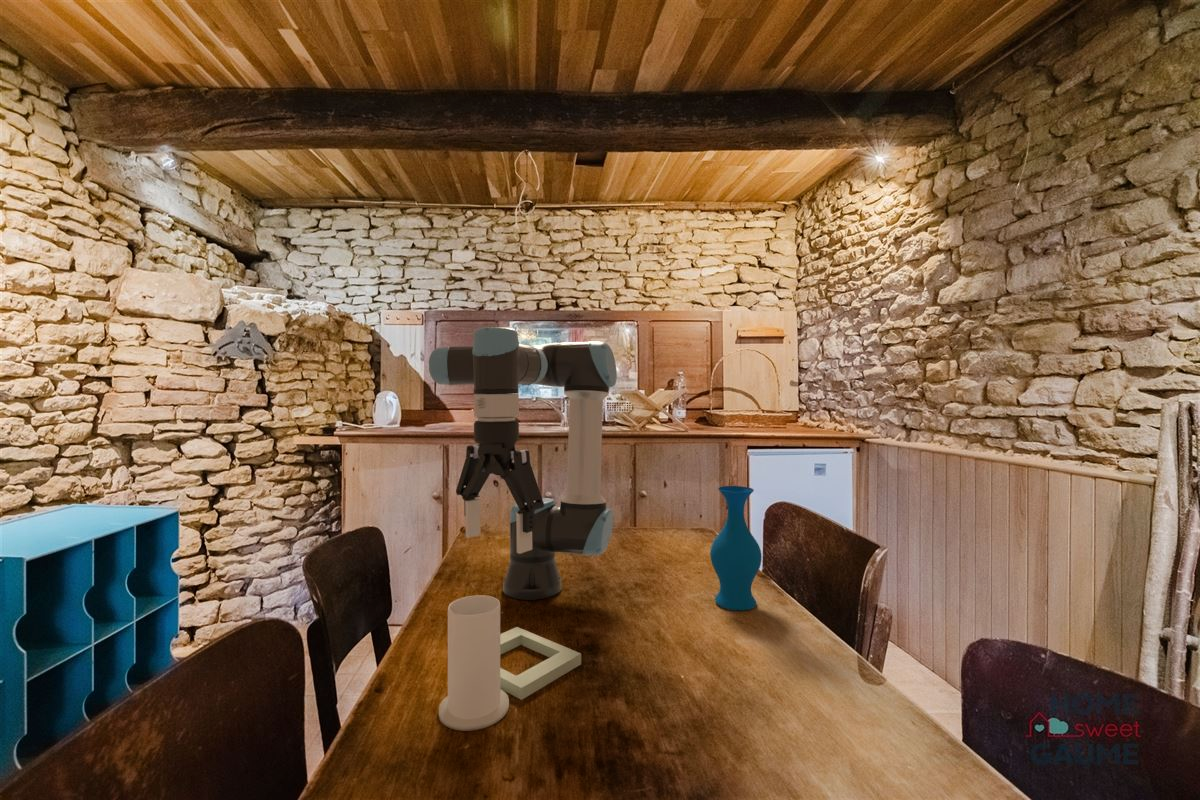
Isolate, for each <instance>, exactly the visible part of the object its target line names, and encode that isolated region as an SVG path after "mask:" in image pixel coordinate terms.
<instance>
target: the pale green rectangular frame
mask: <svg viewBox="0 0 1200 800" xmlns="http://www.w3.org/2000/svg"><path fill="white" fill-rule="evenodd" d="M519 646H523V647H525V648H527V649H528V650H532V651H533V652H536V653H539V654H540V655H543V656H546V657H548V658H547V659H545V660H543V661H541V662H539V663H537V664H535V665H534V666H532V667H530V668H528V669H526V670H524V671H523V672H521V673H519V674H517V675H516V674H514V673H512V672H510V671H508V670H506V669H504V668H502V667H500V689H501V690H503V691H504V692H505V693H508V694H509V695H512V696H513V697H515V698H517V699H519V700H520V701H523V700H524V699H526V698H527V697H529V696H530V695H532V694H534V693H535V692H537V691H539V690H540V689H543V688H544V687H545V686H547V685H549V684H551V683H552V682H554V681H556V680H557V679H558V678H561V677H562V676H565V674H567V673H569V672H570V671H572V670H574V669H576V668H577V667H579V666H581V665H582V653H580V652H578V651H576V650H573V649H571V648H569V647H566V646H564V645H561V644H559V643H557V642H554V641H552V640H550V639H547V638H545V637H542V636H540V635H538V634H535V633H533V632H530V631H528V630H526V629H523V628H520V627H518V626H515V627H512V628H511V629H509V630H507V631H505V632H502V633H500V656H501V655H504V654H505V653H507V652H509V651H511V650H513V649H515V648H518V647H519Z"/></svg>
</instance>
